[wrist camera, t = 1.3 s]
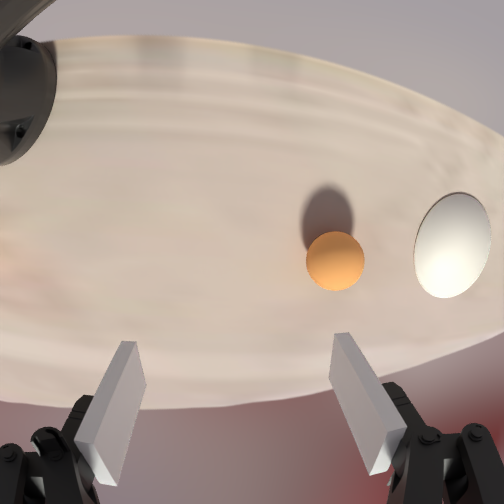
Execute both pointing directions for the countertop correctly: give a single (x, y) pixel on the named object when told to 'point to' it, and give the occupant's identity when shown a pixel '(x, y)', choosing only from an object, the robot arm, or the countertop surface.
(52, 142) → the countertop surface
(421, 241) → the white plate
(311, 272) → the ball
